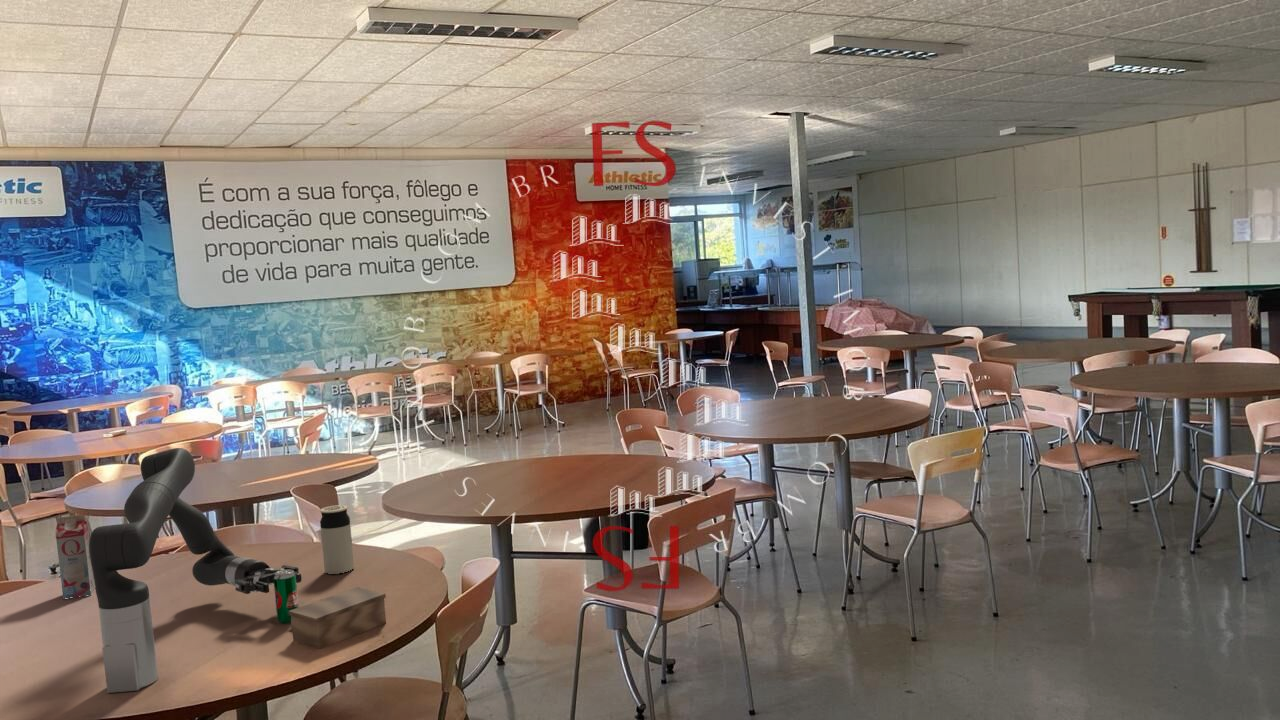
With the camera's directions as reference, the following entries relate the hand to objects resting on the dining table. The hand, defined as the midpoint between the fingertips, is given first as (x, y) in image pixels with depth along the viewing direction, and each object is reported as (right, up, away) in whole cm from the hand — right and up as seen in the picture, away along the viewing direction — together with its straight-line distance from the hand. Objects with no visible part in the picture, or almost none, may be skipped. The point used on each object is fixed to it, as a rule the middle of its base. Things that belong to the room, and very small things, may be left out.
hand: (284, 583), depth 232 cm
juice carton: (-69, -11, +34) cm, 77 cm away
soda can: (+1, -9, 0) cm, 9 cm away
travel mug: (+1, -6, +40) cm, 41 cm away
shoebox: (+17, -9, -10) cm, 21 cm away
